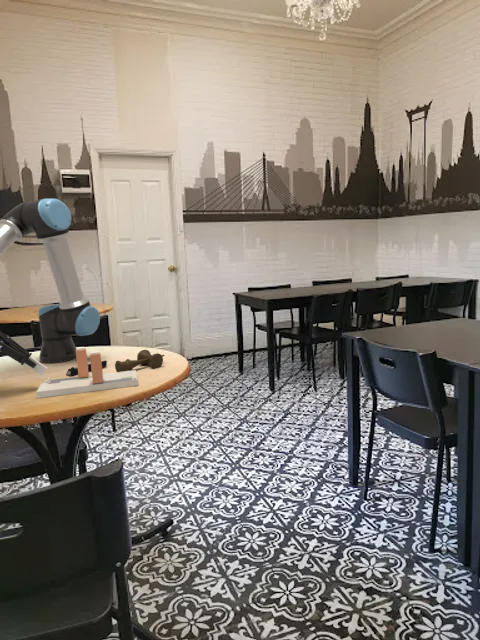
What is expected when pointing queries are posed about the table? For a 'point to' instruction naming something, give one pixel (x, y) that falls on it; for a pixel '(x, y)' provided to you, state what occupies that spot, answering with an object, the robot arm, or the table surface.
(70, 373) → the electric trimmer
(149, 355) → the kendama
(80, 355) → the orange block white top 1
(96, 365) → the orange rectangular block
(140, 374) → the table surface
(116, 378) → the white fixture board
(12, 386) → the table surface
